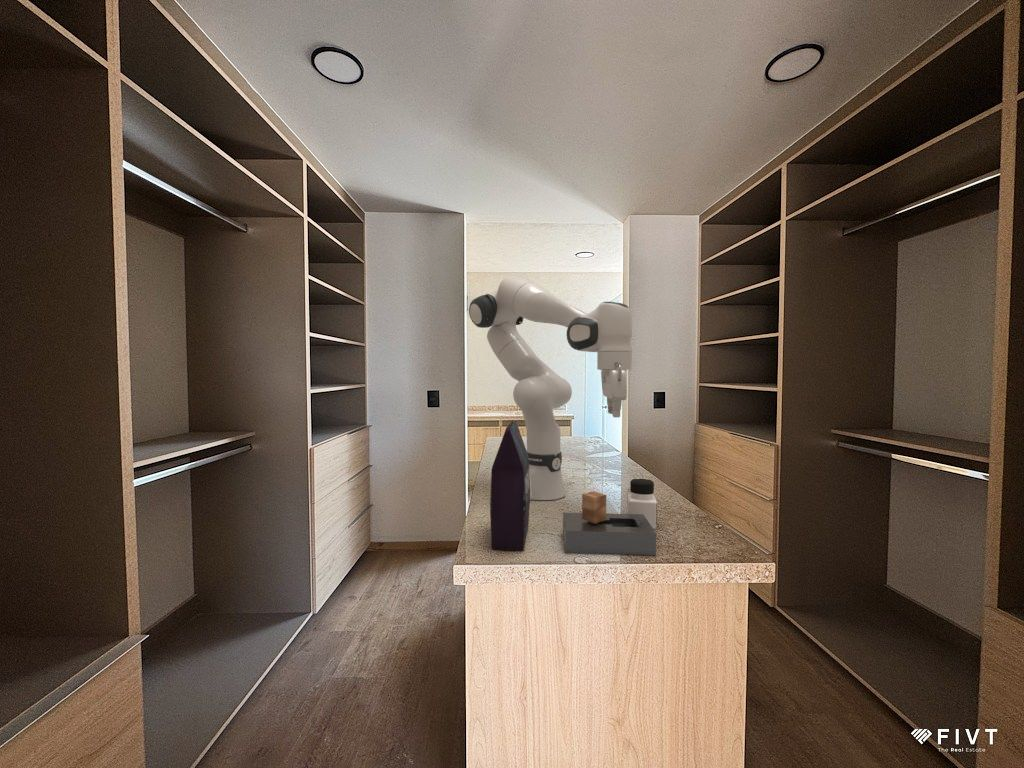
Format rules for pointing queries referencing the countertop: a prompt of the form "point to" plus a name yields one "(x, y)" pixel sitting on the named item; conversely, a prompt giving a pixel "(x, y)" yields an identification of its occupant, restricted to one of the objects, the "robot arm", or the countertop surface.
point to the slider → (594, 507)
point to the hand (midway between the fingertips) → (613, 415)
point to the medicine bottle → (643, 500)
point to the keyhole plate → (609, 535)
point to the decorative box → (510, 492)
